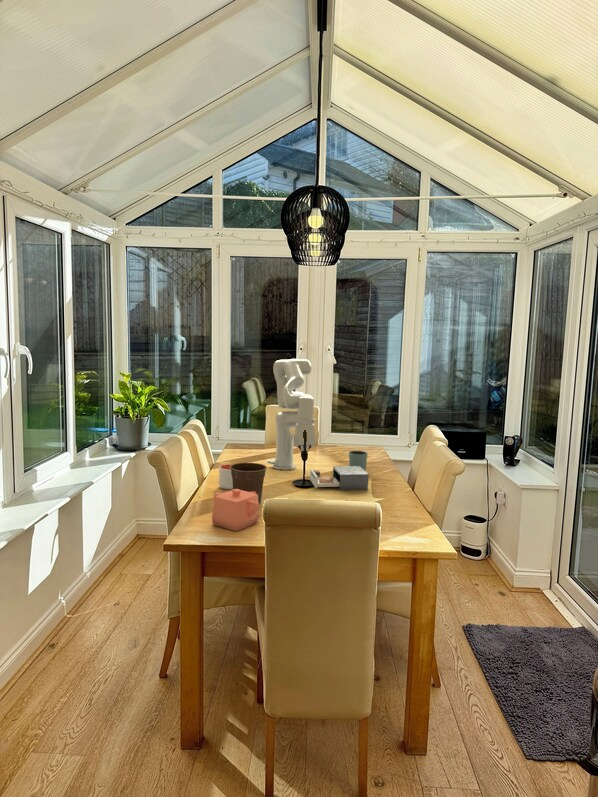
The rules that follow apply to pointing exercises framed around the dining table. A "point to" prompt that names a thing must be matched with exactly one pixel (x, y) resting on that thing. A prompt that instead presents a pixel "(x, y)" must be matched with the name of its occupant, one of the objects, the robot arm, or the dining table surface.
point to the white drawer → (316, 483)
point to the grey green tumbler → (358, 459)
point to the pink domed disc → (325, 479)
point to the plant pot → (248, 477)
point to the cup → (225, 477)
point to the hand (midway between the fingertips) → (304, 458)
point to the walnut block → (317, 473)
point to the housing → (351, 477)
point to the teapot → (235, 509)
